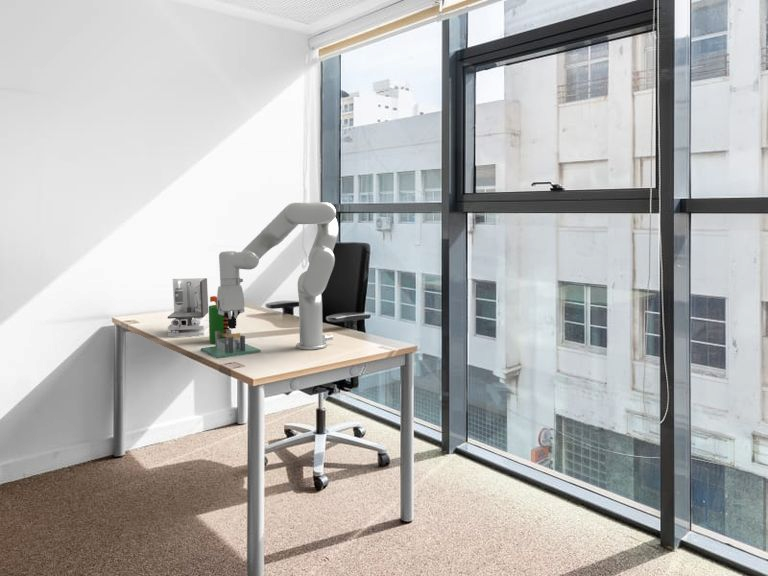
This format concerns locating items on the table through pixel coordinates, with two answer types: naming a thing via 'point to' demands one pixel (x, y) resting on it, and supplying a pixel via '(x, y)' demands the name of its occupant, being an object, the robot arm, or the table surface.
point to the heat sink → (226, 342)
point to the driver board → (231, 349)
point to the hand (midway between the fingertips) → (232, 328)
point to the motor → (216, 321)
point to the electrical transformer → (189, 307)
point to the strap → (230, 335)
